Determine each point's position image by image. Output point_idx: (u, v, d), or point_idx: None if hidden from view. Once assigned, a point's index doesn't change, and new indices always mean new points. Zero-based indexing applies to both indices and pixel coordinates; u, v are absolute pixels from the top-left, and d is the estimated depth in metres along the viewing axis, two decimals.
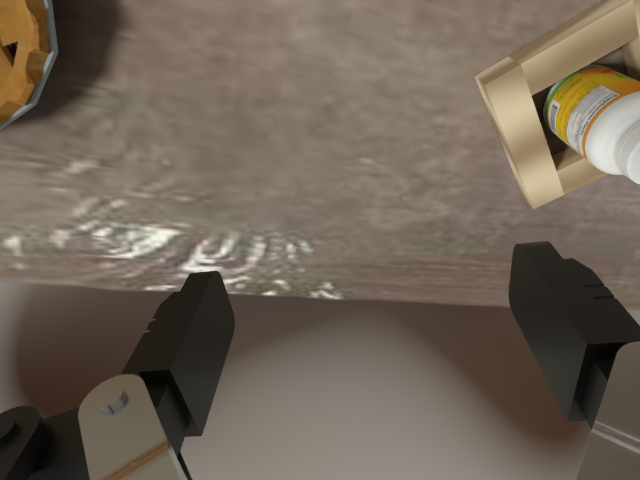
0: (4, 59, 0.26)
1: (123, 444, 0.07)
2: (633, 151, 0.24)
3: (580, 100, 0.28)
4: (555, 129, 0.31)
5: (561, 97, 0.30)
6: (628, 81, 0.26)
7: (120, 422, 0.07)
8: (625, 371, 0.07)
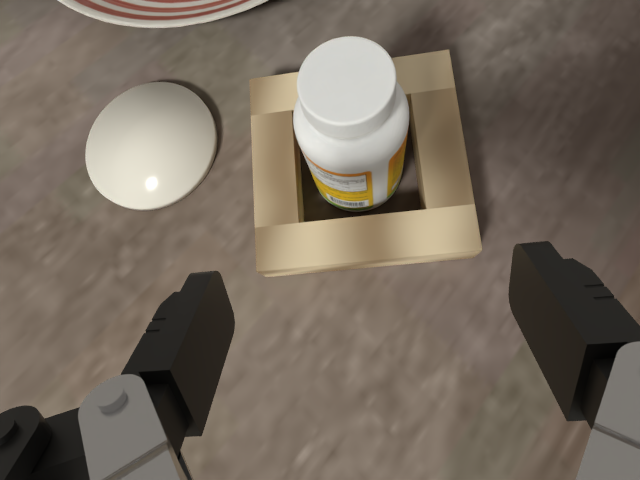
0: None
1: (123, 444, 0.07)
2: (316, 117, 0.16)
3: (311, 171, 0.22)
4: (358, 202, 0.23)
5: (321, 190, 0.24)
6: None
7: (120, 422, 0.07)
8: (625, 371, 0.07)
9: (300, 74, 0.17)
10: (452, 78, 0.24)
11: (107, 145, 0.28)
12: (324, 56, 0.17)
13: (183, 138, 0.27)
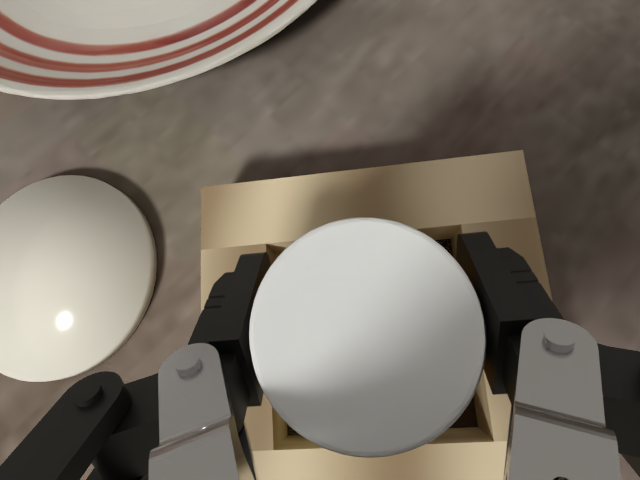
0: None
1: (208, 403, 0.07)
2: (293, 428, 0.07)
3: None
4: None
5: None
6: None
7: (192, 388, 0.08)
8: (527, 343, 0.08)
9: (257, 309, 0.07)
10: (530, 201, 0.14)
11: None
12: (313, 266, 0.07)
13: (103, 268, 0.18)
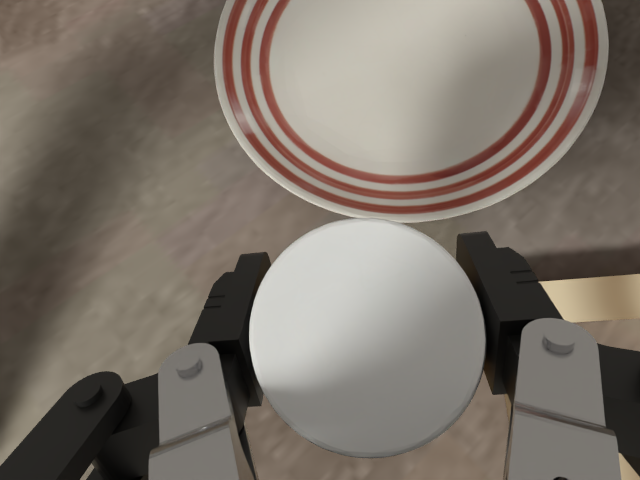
0: None
1: (208, 403, 0.07)
2: (293, 429, 0.07)
3: None
4: None
5: None
6: None
7: (192, 388, 0.08)
8: (527, 343, 0.08)
9: (257, 309, 0.07)
10: None
11: None
12: (313, 266, 0.07)
13: None
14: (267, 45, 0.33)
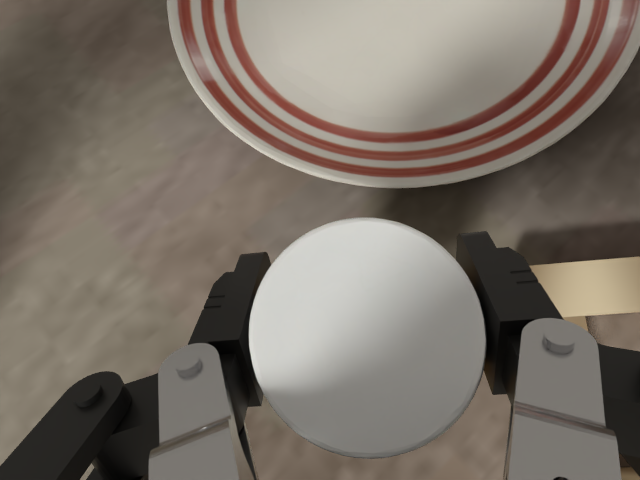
0: None
1: (208, 403, 0.07)
2: (293, 428, 0.07)
3: None
4: None
5: None
6: None
7: (192, 388, 0.08)
8: (527, 343, 0.08)
9: (257, 309, 0.07)
10: None
11: None
12: (313, 266, 0.07)
13: None
14: None
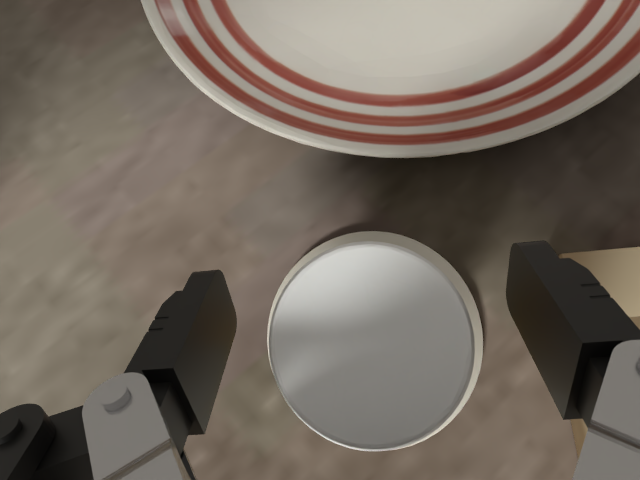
0: None
1: (127, 442, 0.07)
2: (308, 424, 0.08)
3: None
4: None
5: None
6: None
7: (123, 420, 0.07)
8: (620, 369, 0.07)
9: (277, 321, 0.08)
10: None
11: None
12: (326, 285, 0.09)
13: None
14: None
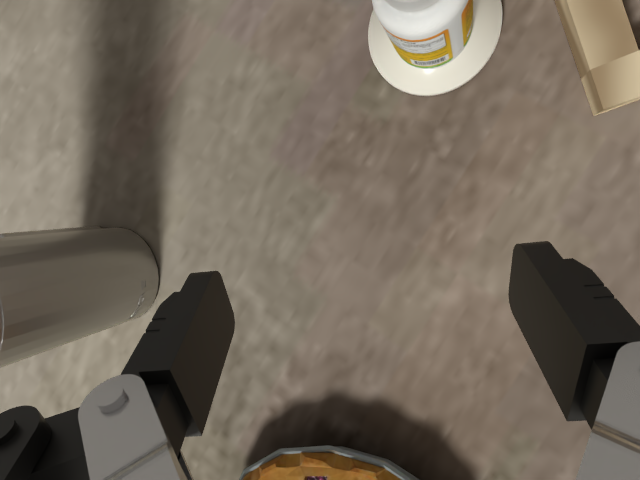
0: None
1: (123, 444, 0.07)
2: None
3: (395, 44, 0.26)
4: (440, 58, 0.27)
5: (405, 57, 0.28)
6: None
7: (120, 422, 0.07)
8: (625, 371, 0.07)
9: None
10: None
11: (390, 44, 0.30)
12: None
13: None
14: None
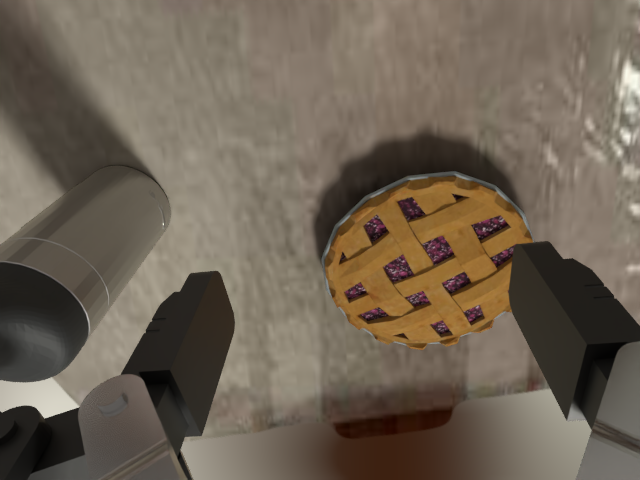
0: (465, 201, 0.39)
1: (123, 444, 0.07)
2: None
3: None
4: None
5: None
6: None
7: (120, 422, 0.07)
8: (625, 371, 0.07)
9: None
10: None
11: None
12: None
13: None
14: None
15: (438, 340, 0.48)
